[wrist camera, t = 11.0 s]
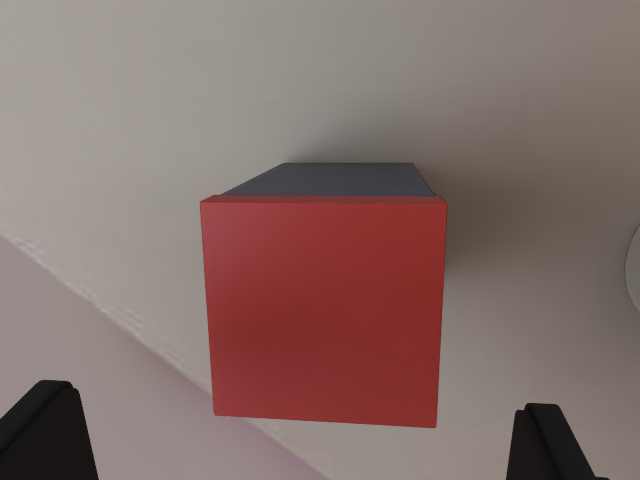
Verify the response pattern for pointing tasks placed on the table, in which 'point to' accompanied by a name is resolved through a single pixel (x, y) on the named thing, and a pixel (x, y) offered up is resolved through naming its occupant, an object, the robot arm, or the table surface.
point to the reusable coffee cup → (633, 270)
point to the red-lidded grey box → (326, 294)
